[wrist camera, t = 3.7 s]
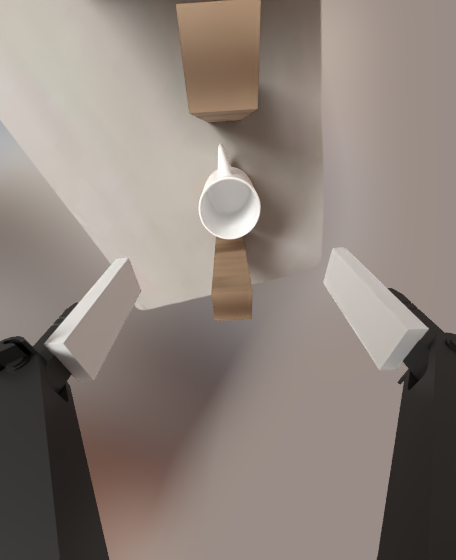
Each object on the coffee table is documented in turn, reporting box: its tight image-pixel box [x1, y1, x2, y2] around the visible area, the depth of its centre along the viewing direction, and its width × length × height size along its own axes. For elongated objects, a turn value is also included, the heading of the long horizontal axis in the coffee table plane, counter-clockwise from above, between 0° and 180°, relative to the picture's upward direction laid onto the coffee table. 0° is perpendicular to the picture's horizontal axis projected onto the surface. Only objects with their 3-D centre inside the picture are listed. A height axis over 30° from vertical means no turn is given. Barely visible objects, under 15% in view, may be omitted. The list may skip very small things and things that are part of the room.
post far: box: [211, 236, 252, 321], centre depth 35 cm, size 5×5×20 cm
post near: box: [176, 0, 261, 122], centre depth 22 cm, size 5×5×20 cm
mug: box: [199, 144, 261, 239], centre depth 32 cm, size 9×12×11 cm
